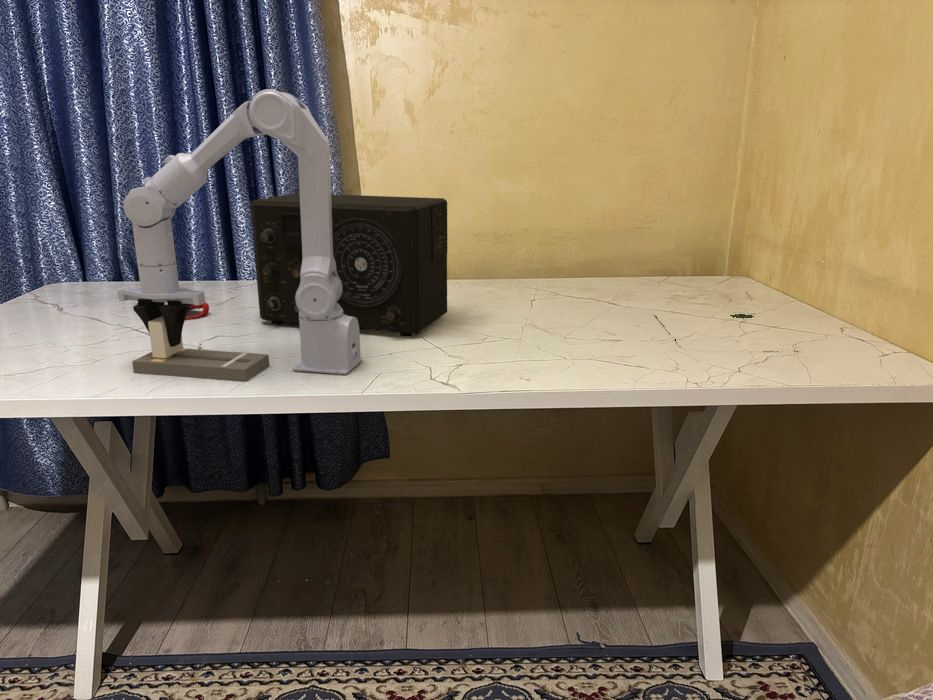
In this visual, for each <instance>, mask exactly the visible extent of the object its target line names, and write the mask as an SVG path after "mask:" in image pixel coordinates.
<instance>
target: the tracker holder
mask: <svg viewBox="0 0 933 700" xmlns="http://www.w3.org/2000/svg"><path fill="white" fill-rule="evenodd" d="M164 305H167V302H165V304H164ZM201 309H202V311H201V312H200V313H199V314H197V315H192V316H186V318H185V321H186V320H194V319H199V318H203V317H206V315H208V313H209V312H210V306H209V304H208V303H207V301H205V303H203V304H201V305H193V304H191V306H190V308H189V310H188V312H189V311H192V310H201Z"/></svg>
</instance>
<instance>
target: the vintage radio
mask: <svg viewBox="0 0 933 700" xmlns="http://www.w3.org/2000/svg"><path fill="white" fill-rule="evenodd" d="M249 205H250V214H251V215H250V216H251V225H252V226H251V227H252V238H253V239H252V240H253V249H254V263H255V272H256V275H255V276H256V285H257V296H258V308H259V309H258V310H259V318H261V320H263V321H271V324H272V325H281V324H284V323H293V324H294V323H295V324H299V311H300V310H299V309H298V307H297V305H296V301H295V296H296V292H297V290H298V288H299V285H300V281H301V277H300V272H301V266H302V259H303V256H302V234H301V212H300V192H299V193H298V192H297V193H295V192H294V193H289V194H284V195H283V194H282V195H278V196H272V197H266V198H260V199H253V200H252V201H250V204H249ZM331 206H332V236H333V256H334V259H335V262H336V272H337V275H338V277H339V279H340V280H341V283H342V294H341V297H340V298H339V300H338V301H337V303H338V304H339V305H340V307H341V308H342V309H343V314H345V315H347V316H352V317H355V318H357V320H358V323H359V330H370V331H379V332H388V333H389V332H391V333H399V336H400V337H412V336H413V335H417V334H420V333H421V332H423V330H426V328H427V327H429V326H430V325H432V324H433V323H435V322H436V321H437V320H439V319H440V318H442V317H443V316H444V315H445V314H447V313H448V201H447V200H446V199H445V198H443V197H442V198H440V197H417V196H415V197H413V196H389V195H388V196H386V195H385V196H384V195H383V196H382V195H381V196H380V195H358V194H357V195H355V194H352V195H351V194H332V193H331Z"/></svg>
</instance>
